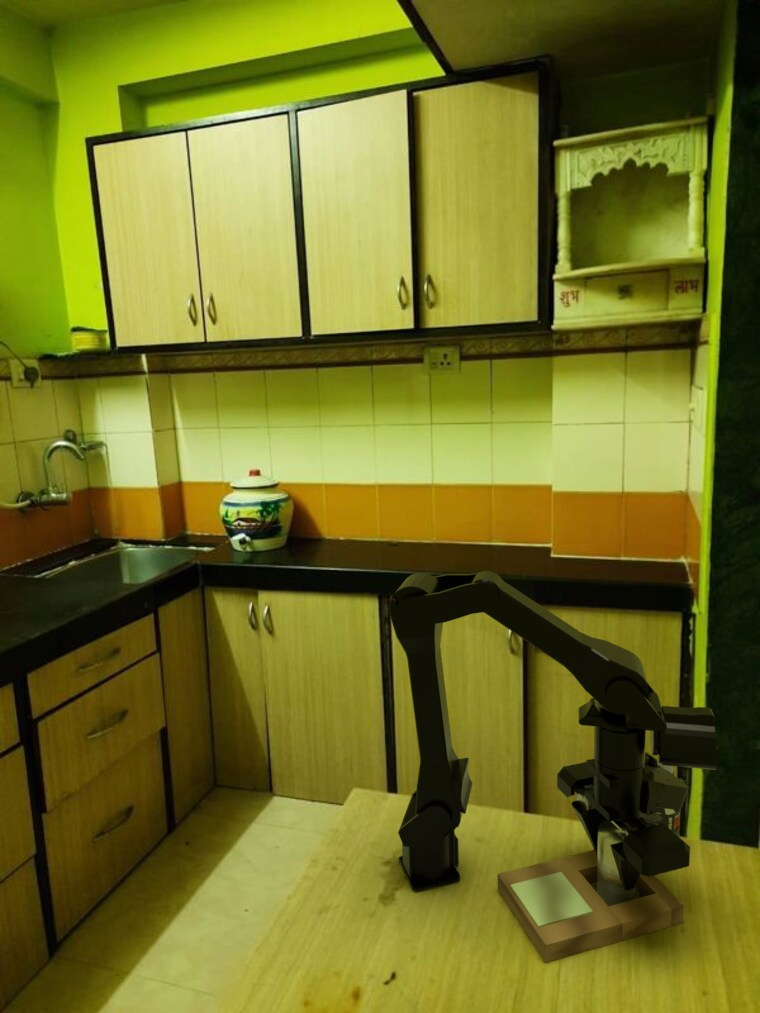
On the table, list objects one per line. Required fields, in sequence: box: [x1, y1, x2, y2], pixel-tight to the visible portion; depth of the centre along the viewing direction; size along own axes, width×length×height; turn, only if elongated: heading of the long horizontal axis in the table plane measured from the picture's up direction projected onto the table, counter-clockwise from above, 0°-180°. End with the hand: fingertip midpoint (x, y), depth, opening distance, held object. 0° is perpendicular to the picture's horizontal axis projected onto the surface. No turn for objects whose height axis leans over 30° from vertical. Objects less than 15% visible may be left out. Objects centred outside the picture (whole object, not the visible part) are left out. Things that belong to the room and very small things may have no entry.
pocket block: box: [497, 849, 685, 963], centre depth 86 cm, size 18×12×2 cm, turn 106°
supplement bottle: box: [641, 760, 681, 837], centre depth 96 cm, size 6×6×11 cm
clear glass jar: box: [596, 821, 637, 906], centre depth 86 cm, size 4×4×9 cm
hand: (616, 875), depth 86 cm, fingers closed on clear glass jar, 4 cm apart
